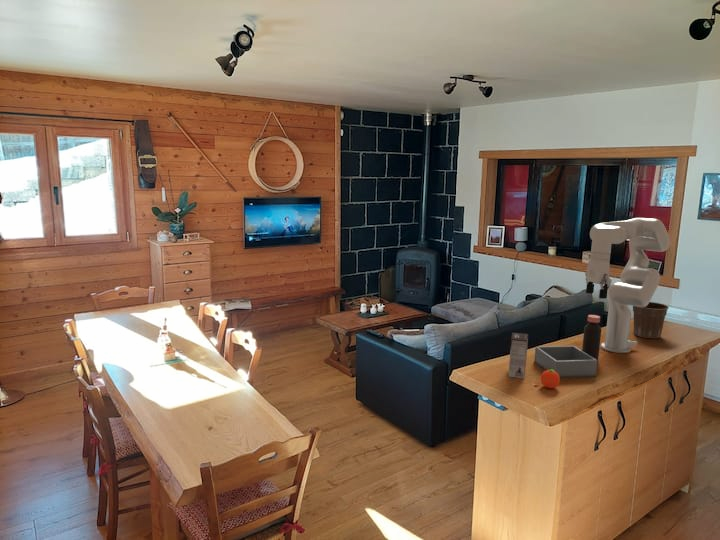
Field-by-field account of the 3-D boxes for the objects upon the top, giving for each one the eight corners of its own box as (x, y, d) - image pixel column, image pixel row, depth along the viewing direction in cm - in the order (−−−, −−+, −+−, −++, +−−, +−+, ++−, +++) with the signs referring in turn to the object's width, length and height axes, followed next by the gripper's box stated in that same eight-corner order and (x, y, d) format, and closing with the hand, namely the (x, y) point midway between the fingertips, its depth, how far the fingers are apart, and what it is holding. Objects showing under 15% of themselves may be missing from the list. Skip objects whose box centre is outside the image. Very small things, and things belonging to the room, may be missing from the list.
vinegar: (585, 356, 230) (589, 313, 226) (600, 360, 225) (605, 316, 221) (578, 359, 226) (582, 316, 222) (593, 364, 221) (598, 319, 217)
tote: (572, 360, 224) (573, 345, 223) (595, 376, 207) (597, 360, 206) (534, 362, 222) (535, 346, 220) (554, 378, 205) (556, 361, 203)
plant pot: (623, 334, 263) (626, 304, 260) (636, 328, 273) (639, 299, 270) (657, 342, 251) (661, 310, 248) (669, 336, 261) (673, 305, 258)
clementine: (545, 381, 201) (546, 364, 200) (563, 386, 196) (564, 369, 195) (536, 387, 195) (538, 370, 194) (555, 393, 191) (556, 375, 189)
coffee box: (509, 368, 214) (512, 331, 211) (525, 370, 212) (528, 333, 209) (508, 376, 205) (510, 338, 202) (524, 379, 203) (527, 340, 200)
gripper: (580, 253, 225) (576, 291, 228) (604, 259, 208) (599, 300, 211) (596, 253, 226) (592, 291, 229) (621, 259, 209) (616, 300, 212)
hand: (596, 295), depth 220 cm, fingers open, 9 cm apart
